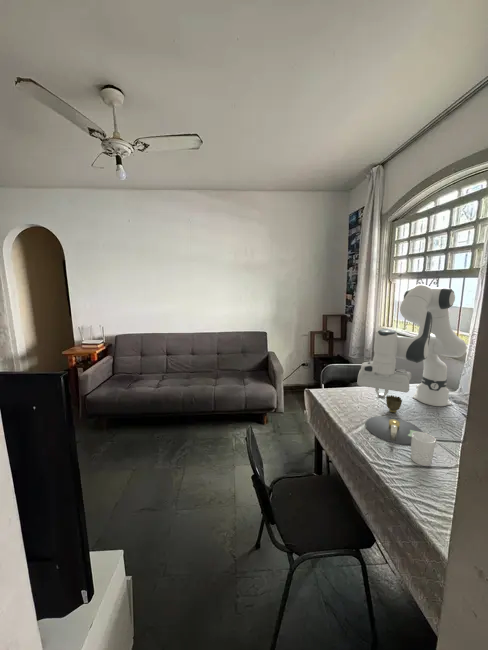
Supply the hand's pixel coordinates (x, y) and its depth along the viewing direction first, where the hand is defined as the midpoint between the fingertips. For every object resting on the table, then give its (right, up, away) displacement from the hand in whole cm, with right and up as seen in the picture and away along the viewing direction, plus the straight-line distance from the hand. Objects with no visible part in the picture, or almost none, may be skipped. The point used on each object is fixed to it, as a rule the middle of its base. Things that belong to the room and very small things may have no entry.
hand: (381, 398), depth 122 cm
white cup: (+10, -21, -12) cm, 26 cm away
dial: (+11, -18, +10) cm, 23 cm away
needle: (+8, -17, +5) cm, 20 cm away
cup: (+20, -15, +27) cm, 37 cm away
